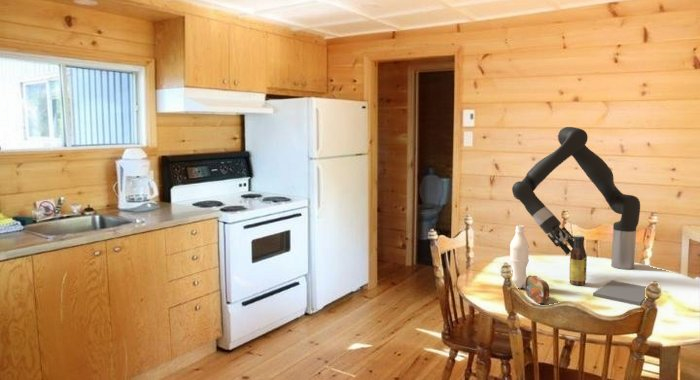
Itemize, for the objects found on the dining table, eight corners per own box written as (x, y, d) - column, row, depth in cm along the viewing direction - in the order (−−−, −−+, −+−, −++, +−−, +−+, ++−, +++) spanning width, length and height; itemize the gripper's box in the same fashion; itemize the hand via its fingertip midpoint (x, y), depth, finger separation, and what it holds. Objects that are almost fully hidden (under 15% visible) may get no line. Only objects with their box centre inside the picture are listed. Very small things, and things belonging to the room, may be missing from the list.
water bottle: (527, 285, 209) (529, 224, 206) (527, 290, 202) (529, 228, 199) (509, 283, 211) (511, 223, 208) (508, 288, 204) (510, 227, 201)
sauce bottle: (587, 286, 206) (589, 238, 204) (570, 285, 207) (573, 237, 205) (583, 281, 212) (585, 234, 210) (567, 281, 214) (569, 234, 211)
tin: (524, 293, 198) (525, 272, 197) (532, 293, 198) (532, 272, 198) (542, 307, 183) (542, 284, 182) (550, 306, 184) (551, 283, 183)
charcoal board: (611, 283, 210) (611, 280, 210) (655, 291, 199) (655, 288, 199) (593, 296, 194) (593, 293, 194) (639, 305, 184) (640, 302, 183)
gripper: (545, 216, 209) (573, 248, 203) (559, 212, 219) (586, 242, 213) (532, 228, 213) (559, 259, 207) (546, 223, 224) (572, 253, 217)
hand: (573, 250), depth 210 cm, fingers open, 8 cm apart
